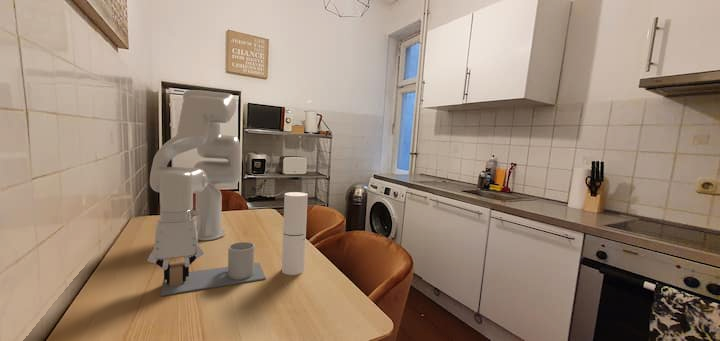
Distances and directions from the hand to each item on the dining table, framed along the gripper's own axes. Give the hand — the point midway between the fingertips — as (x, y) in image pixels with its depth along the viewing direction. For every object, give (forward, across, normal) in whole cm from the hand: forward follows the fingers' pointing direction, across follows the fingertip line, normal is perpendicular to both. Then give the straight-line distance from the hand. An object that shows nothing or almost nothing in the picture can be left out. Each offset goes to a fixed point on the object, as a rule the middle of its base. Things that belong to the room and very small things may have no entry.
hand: (176, 279), depth 81 cm
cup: (+1, -16, 0) cm, 16 cm away
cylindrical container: (+1, -32, +3) cm, 32 cm away
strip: (+1, -10, 0) cm, 10 cm away
